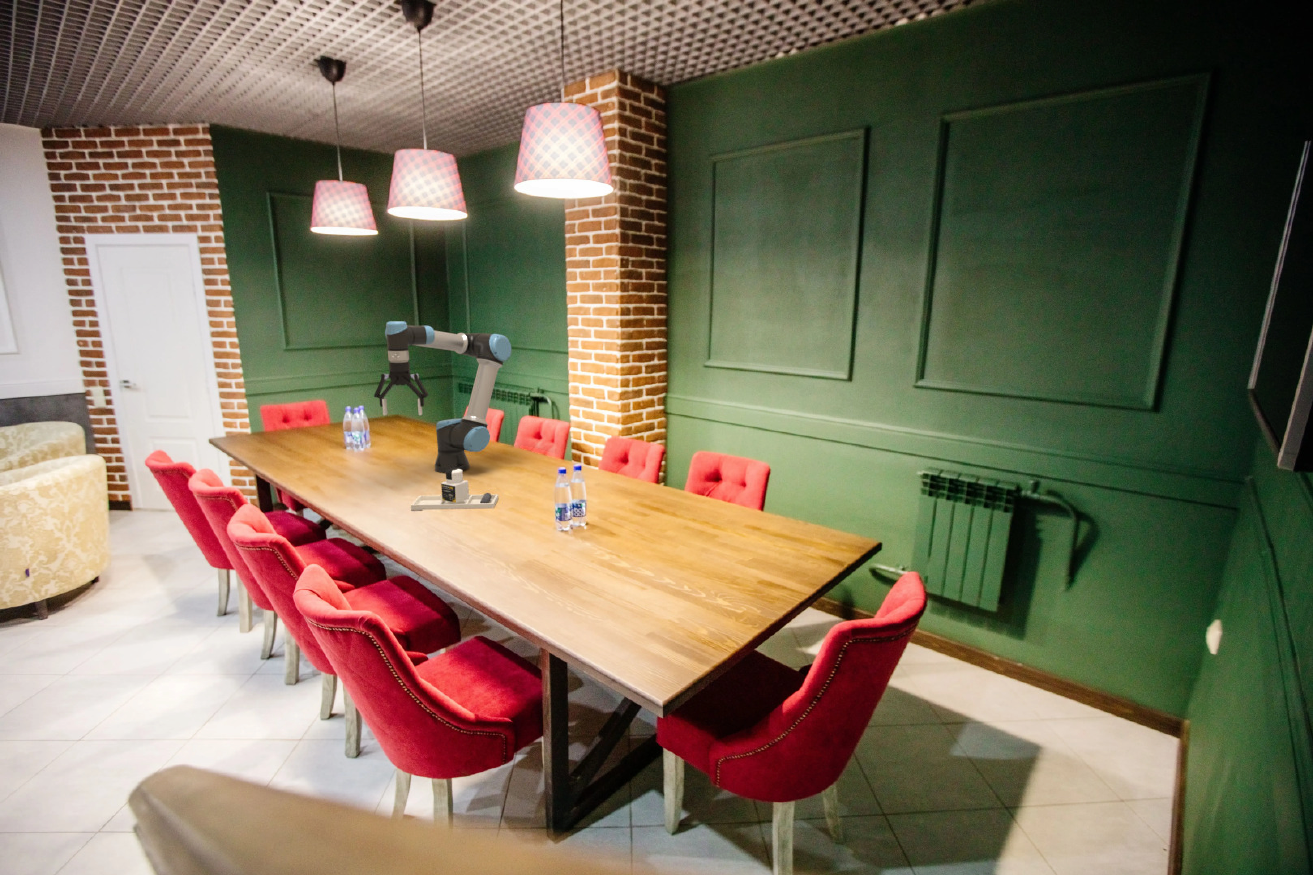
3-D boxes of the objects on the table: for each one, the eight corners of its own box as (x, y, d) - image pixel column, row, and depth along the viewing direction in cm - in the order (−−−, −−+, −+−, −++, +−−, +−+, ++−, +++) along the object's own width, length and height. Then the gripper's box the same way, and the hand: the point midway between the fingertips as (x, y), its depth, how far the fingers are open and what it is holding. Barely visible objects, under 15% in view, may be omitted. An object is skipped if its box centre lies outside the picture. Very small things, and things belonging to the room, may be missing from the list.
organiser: (419, 501, 247) (419, 495, 246) (498, 499, 250) (498, 494, 249) (411, 510, 235) (410, 505, 235) (493, 509, 238) (493, 503, 238)
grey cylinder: (482, 495, 247) (488, 491, 247) (486, 501, 247) (493, 497, 247) (478, 501, 239) (485, 497, 239) (483, 508, 240) (489, 504, 240)
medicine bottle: (441, 500, 241) (439, 470, 238) (455, 495, 247) (453, 465, 244) (455, 503, 237) (453, 472, 235) (469, 498, 244) (467, 468, 241)
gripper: (362, 362, 243) (367, 416, 248) (429, 362, 245) (432, 416, 250) (369, 360, 250) (373, 413, 255) (434, 360, 253) (437, 412, 257)
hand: (403, 414), depth 253 cm, fingers open, 13 cm apart
